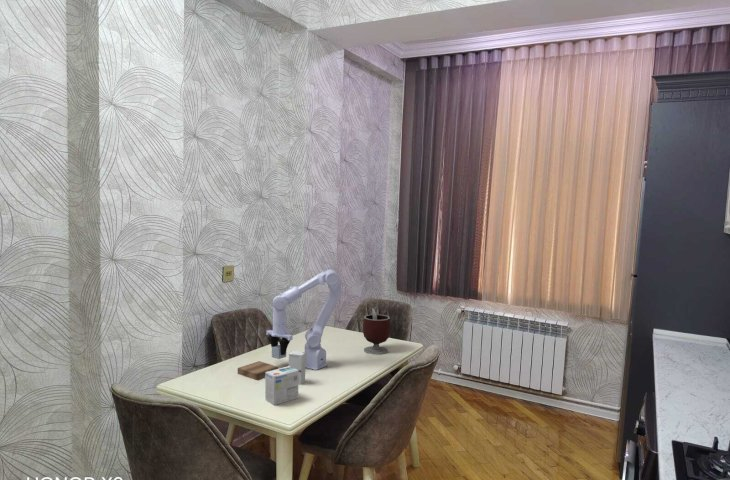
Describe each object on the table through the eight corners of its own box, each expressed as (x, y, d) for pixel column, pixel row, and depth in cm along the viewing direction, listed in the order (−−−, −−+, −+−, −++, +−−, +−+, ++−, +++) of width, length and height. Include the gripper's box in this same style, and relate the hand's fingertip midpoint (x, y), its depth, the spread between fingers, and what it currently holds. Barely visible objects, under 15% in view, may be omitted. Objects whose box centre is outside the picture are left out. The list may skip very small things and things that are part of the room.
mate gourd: (393, 354, 234) (394, 314, 232) (366, 355, 230) (367, 314, 229) (384, 345, 249) (385, 307, 247) (358, 346, 245) (359, 308, 244)
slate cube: (286, 356, 211) (286, 346, 211) (278, 359, 207) (278, 349, 207) (279, 354, 214) (279, 344, 213) (271, 357, 210) (271, 347, 210)
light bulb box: (288, 393, 182) (289, 365, 181) (299, 398, 177) (299, 369, 176) (264, 400, 174) (264, 371, 174) (274, 405, 169) (274, 376, 169)
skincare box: (287, 383, 192) (287, 353, 191) (292, 379, 196) (292, 350, 195) (301, 385, 190) (301, 355, 189) (306, 381, 194) (306, 352, 193)
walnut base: (278, 373, 204) (278, 366, 204) (256, 381, 194) (256, 374, 194) (259, 367, 211) (259, 361, 211) (237, 374, 201) (237, 367, 201)
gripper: (261, 322, 211) (261, 352, 211) (284, 327, 202) (284, 358, 203) (273, 319, 216) (273, 348, 217) (296, 324, 208) (295, 355, 209)
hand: (279, 353), depth 210 cm, fingers closed on slate cube, 4 cm apart
